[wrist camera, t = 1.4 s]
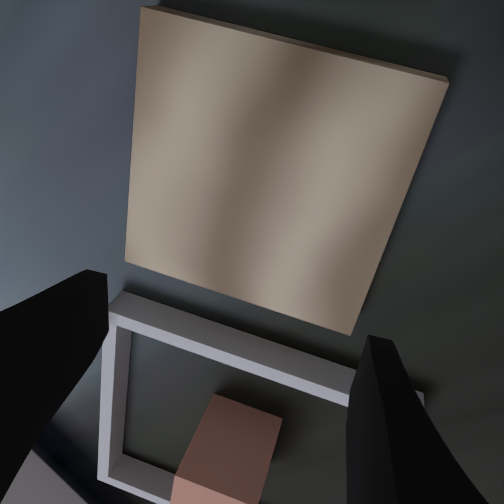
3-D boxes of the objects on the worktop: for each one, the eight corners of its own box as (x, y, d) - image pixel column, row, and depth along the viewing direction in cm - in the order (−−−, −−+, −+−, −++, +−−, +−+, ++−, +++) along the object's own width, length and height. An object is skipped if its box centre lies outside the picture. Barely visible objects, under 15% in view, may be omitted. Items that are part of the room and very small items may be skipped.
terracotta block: (282, 418, 29) (257, 507, 24) (267, 463, 32) (241, 553, 27) (213, 393, 30) (174, 475, 25) (204, 439, 32) (166, 522, 27)
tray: (423, 393, 26) (424, 421, 24) (340, 546, 34) (336, 576, 32) (122, 290, 28) (103, 309, 26) (111, 456, 36) (97, 479, 34)
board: (446, 76, 18) (449, 83, 17) (353, 318, 25) (350, 335, 23) (157, 5, 20) (140, 6, 19) (138, 247, 26) (124, 261, 25)
